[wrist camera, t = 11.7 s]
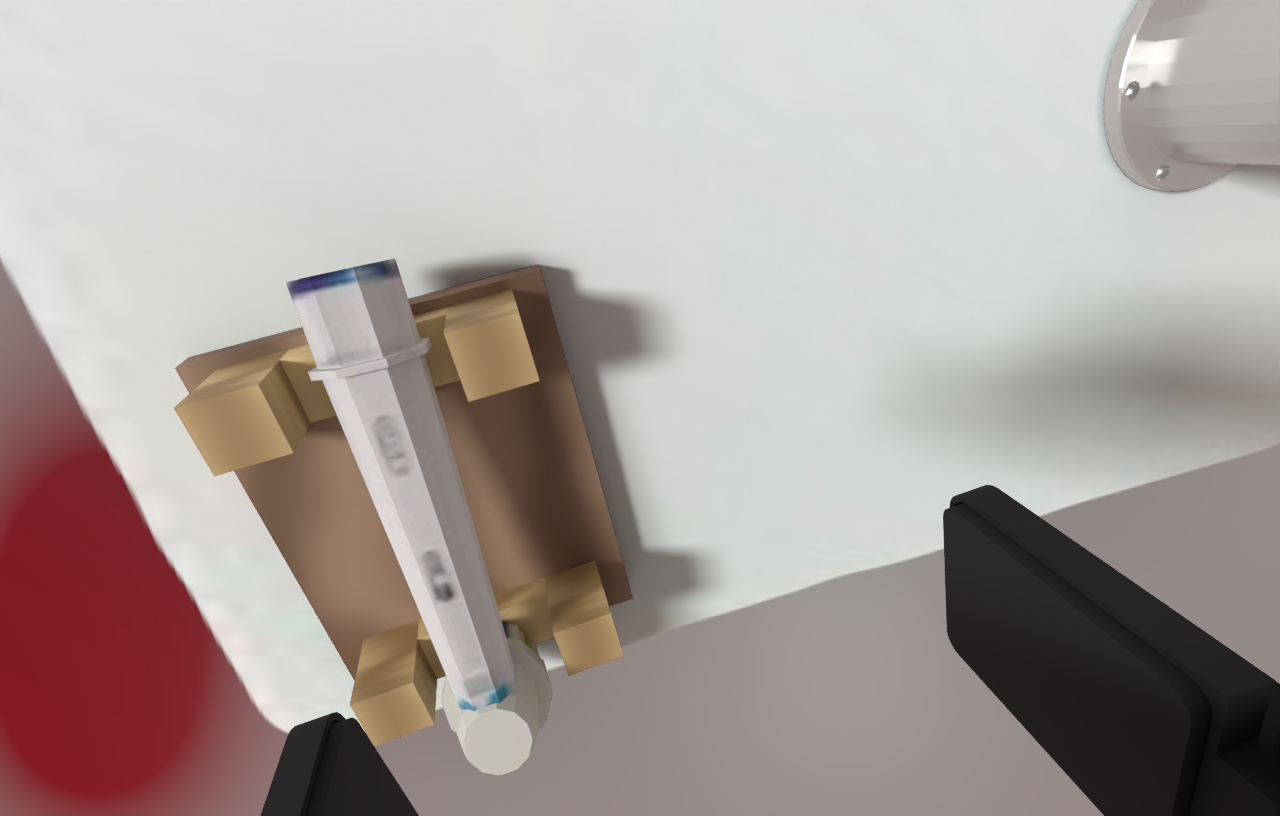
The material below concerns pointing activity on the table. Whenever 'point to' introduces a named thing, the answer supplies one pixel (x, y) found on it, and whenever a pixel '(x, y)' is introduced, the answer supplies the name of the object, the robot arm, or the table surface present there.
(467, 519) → the electric toothbrush handle
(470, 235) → the table surface
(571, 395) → the rack
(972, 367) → the table surface
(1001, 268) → the table surface
